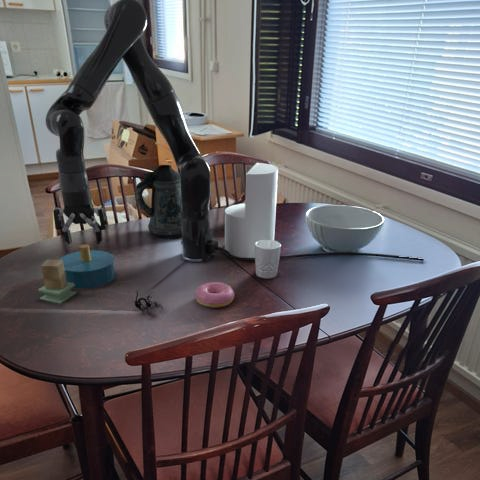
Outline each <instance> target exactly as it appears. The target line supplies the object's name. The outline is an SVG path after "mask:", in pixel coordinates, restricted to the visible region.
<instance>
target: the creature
mask: <svg viewBox="0 0 480 480" xmlns="http://www.w3.org/2000/svg"><path fill="white" fill-rule="evenodd" d="M135 292H136V296H135V300H133V302H134V306H135V307H136V308H137V309H139V310H140V311H141V313H142V315H145V314H147V315H148V316H150V317H151V318H155V317H156V316H155V315H154V314H153V313H152V312H149V309H151V310H152V309H153V308H154V307H156V308H161V309H164V307H163V306H162V305H160V304H158V303H157V301H155V300H154V301H152V300H150V298H152V297H153V296H154V294H152V295H147V296H146V298H144V297H139V292H138V290H135ZM138 297H139V298H138ZM141 301H143V302H145V305H144V304H143V303H142V302H141ZM153 304H154V306H152V305H153ZM143 309H146V312H145V313H144V310H143Z"/></svg>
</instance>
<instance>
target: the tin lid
mask: <svg viewBox="0 0 480 480" xmlns="http://www.w3.org/2000/svg"><path fill="white" fill-rule="evenodd" d="M78 249H79V250H78V251H74V252H71V253H68V254H66V255H64V256H61V258H59V259H58V260H63V264H64V270H65V271H66V272H72V273H89V272H95V271H99V270H102V269H105V268H107V267H109V266H110V265H112V264H113V265H114V262H115V257H114V255H113V254H111V253H110V252H107V251H104V250H94V249H93V250H92V249H91V248H90V245H89V244H86V243H85V244H81V245H79V246H78Z"/></svg>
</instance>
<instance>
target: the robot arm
mask: <svg viewBox="0 0 480 480" xmlns="http://www.w3.org/2000/svg"><path fill="white" fill-rule="evenodd" d="M103 23H104V28H105V30H106V32H105V33H104V35H103V37H102V38H101V40H100V41H99V42H98V44H97V46H96V47H95V48H94V49H93V51H92V52H91V53H90V54H89V55H88V57H87V58H86V59H85V61H83V63H82V65H81V66H80V67H79V68H78V70H77V71H76V73H75V75H74V76H73V78H72V79H71V81H70V83H69V84H68V87H67V89H66V90H65V91H64V92H63V93H62V94H61V95H60V96H59V97H58V98H56V100H55V101H54V102H53V103H52V105H51V106H50V107H49V109H48V110H47V112H46V114H45V115H46V116H45V126H46V128H47V130H48V132H50V134H52V135H54V136H56V137H59V148H57V150H56V151H55V159H56V164H57V170H58V181H59V188H60V192H61V198H62V203H63V208H62V207H61V208H60V207H59V206H56V207H55V208H54V209H53V210H52V213H53V222H54V228H55V230H56V231H61V232H63V238H64V242H65V243H67V245H71V244H72V243H73V238H72V232H71V230H70V227H71V226H72V224H74V225H79V224H81V225H86V224H87V225H88V226H89V227H91V228H92V229H93V230H94V231H95V232H94V233H95V240H96V244H97V245H100V244H101V243H102V242H103V240H104V237H103V231H105V230H106V229H107V227H109V224H108V220H107V216H106V209H105V207H104V206H100V208H98V207H97V208H95V207H94V206H93V201H92V195H91V188H90V182H89V177H88V174H87V169H86V162H85V156H84V149H85V127H84V125H85V124H84V122H83V119H82V117H81V116H80V115H81V114H83V112H85V111H88V110H90V109H91V108H92V107H93V106H94V104H95V102H96V101H97V100H98V97H100V94H101V93H102V91H103V90H104V88H105V86H106V84H107V83H108V80H109V79H110V77H111V76H112V74H113V73H114V71H115V69H116V68H117V66H118V65H119V63H120V62H121V60H123V62H124V64H125V66H126V67H127V69H128V71H129V74H130V75H131V77H132V80H133V82H134V84H135V85H136V88H137V90H138V92H139V94H140V97H141V98H142V101H143V104H144V105H145V107H146V109H147V111H148V113H149V115H150V118H151V119H152V122H153V123H154V124H155V127H156V128H157V130H158V131H159V133H160V135H162V137H163V138H164V140H165V141H166V144H167V145H168V147H169V150H170V152H171V154H172V157H173V160H174V163H175V165H176V168H177V173H179V175H180V179H181V200H180V204H181V228H182V238H181V241H180V245H181V247H182V248H181V250H182V253H181V254H182V255H181V256H182V259H184V260H185V261H186V262H188V263H189V262H190V263H206V262H207V261H208V260H210V259H211V258H212V257H213V255H214V254H215V253H216V252H218V251H221V252H222V253H225V254H226V255H227V256H228V257H229V258H231V259H234V260H239V261H247V262H248V261H250V262H252V261H253V262H255V258H241V257H236V256H233V255H231V254H230V253H229V252H228V251H227V250H225V248H223V247H221V246H219V240H214V239H213V229H212V228H210V227H211V225H210V224H211V223H210V222H211V221H210V203H211V202H210V201H211V197H212V195H211V193H212V191H211V189H212V188H211V187H212V185H211V183H212V176H211V175H212V174H211V167H210V166H209V164H208V162H207V161H206V160H205V158H204V157H203V156H202V154H201V153H200V151H199V149H198V147H197V146H196V143H195V142H194V140H193V138H192V135H191V134H190V130H189V127H188V124H187V121H186V117H185V113H184V110H183V108H182V105H181V102H180V100H179V98H178V95H177V94H176V92H175V89H174V87H173V86H172V83H171V82H170V80H169V79H168V78H167V76H166V75H165V73H164V72H163V71H162V70H161V69H160V68H159V67H158V66H157V64H156V63H155V61H153V59H152V57H151V56H150V54H149V52H148V51H147V48H146V46H145V44H144V42H143V39H142V36H143V35H144V33H145V32H146V30H147V26H148V15H147V11H146V9H145V7H144V6H143V5H142V3H141V2H139V1H138V0H117V1H116V2H114V3H113V4H111V5H110V6H108V7H107V9H106V10H105V12H104V15H103ZM63 214H64V215H65V216H66V218H67V220H66V222H65V223H64V224H63V221H62V216H63ZM94 214H95V215H96V216H97V217H98V219H99V222H98V221H97V219H96V218H95V217H94ZM324 256H325V257H326V256H363V257H378V258H390V259H391V258H392V259H402V260H411V261H420V262H421V261H422V262H424V260H425V258H424V259H418V258H419V257H417V258H409V257H410V256H407V257H399V256H400V255H398V254H397V255H396V254H388V253H387V254H386V253H385V254H384V253H374V252H373V253H372V252H356V253H352V252H348V253H341V252H335V253H329V252H316V253H313V252H312V253H301V254H289V255H280V257H279V260H285V259H296V258H297V259H298V258H308V257H324Z"/></svg>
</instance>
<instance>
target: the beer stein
mask: <svg viewBox="0 0 480 480" xmlns="http://www.w3.org/2000/svg"><path fill="white" fill-rule="evenodd" d="M142 178H143V180H141V181H139V182H138V183H137V184H136V186H135V192H134V193H135V194H134V195H135V200H136V202H137V204H138V206H139V207H140V208H141V209H142V210H143V211H144V212H145V213H146V214H147V215H148V216H150V218H149V222H148V226H147V228H148V233H149V235H150V236H151V237H153V238H156V239H159V240H166V241H167V240H168V241H170V240H180V239H182V228H181V204H180V200H181V179H180V175H179V172H178V171H176V170H175V169H173V168H172V165H171V164H160V165H157V166H156V168H155V169H154V170H153V171H148V172H146V173H144V174H143V177H142ZM145 190H151V198H150V199H151V201H150V206H149V205H148V204H147V202H146V201H145V199H144V198H143V194H144V191H145Z"/></svg>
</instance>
